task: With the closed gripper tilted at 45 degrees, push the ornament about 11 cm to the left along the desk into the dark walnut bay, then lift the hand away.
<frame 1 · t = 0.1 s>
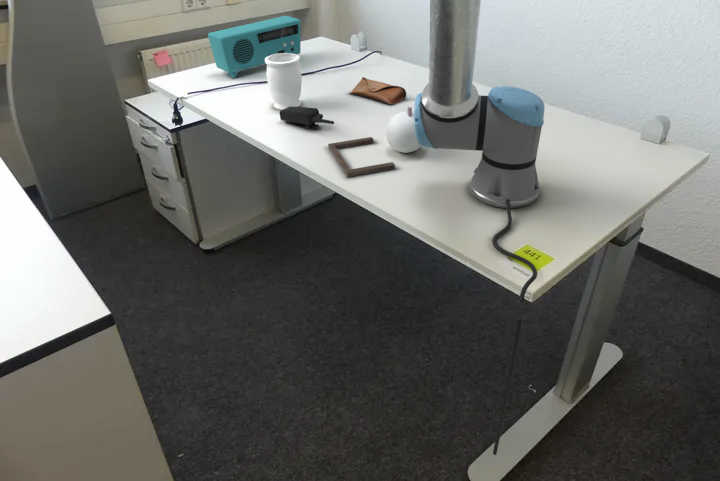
walkie-talkie: (310, 127, 158), on the table
radio: (261, 68, 204), on the table
bay: (362, 157, 141), on the table
sunglasses case: (376, 96, 177), on the table
ornament: (405, 150, 144), on the table
jar: (287, 106, 172), on the table
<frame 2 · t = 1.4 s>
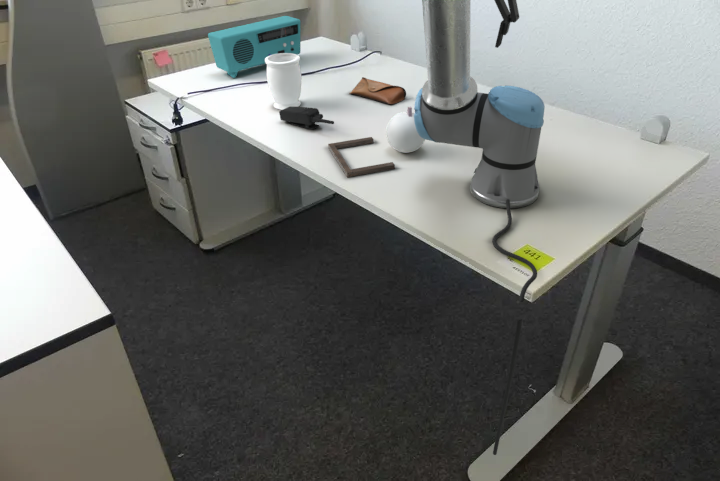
hand: (473, 39, 145), 23 cm above the table, tool pointing down, fingers open, 13 cm apart
nothing on the table moved.
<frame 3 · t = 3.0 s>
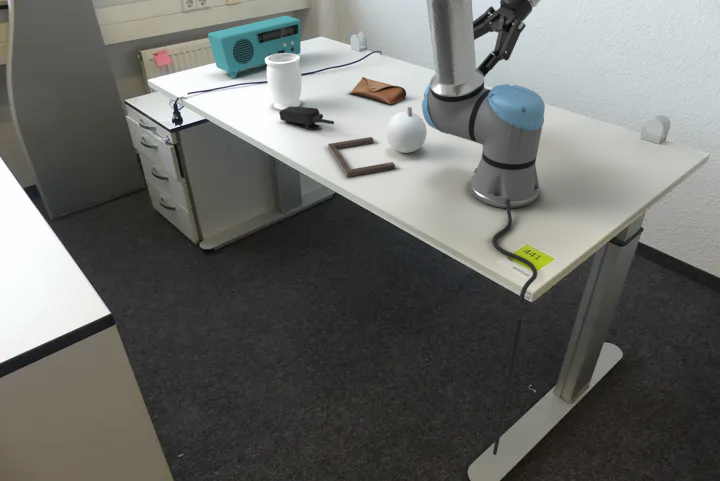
hand: (462, 70, 137), 19 cm above the table, tool tilted 45°, fingers open, 13 cm apart
nothing on the table moved.
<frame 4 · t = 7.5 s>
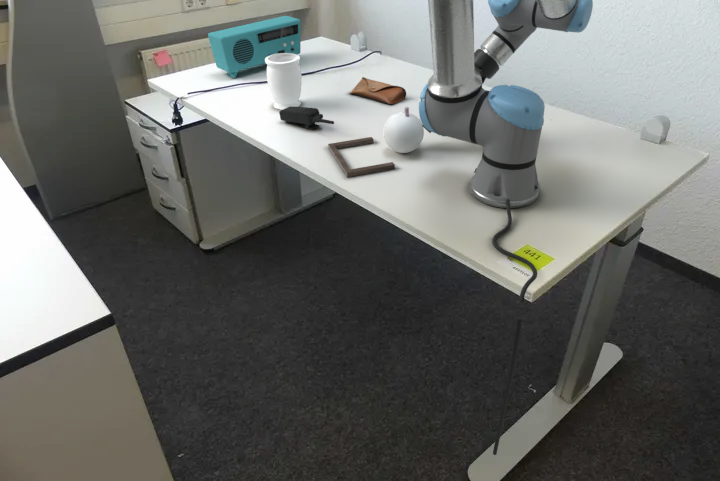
hand: (425, 129, 143), 5 cm above the table, tool tilted 45°, fingers closed
ornament: (403, 151, 144), on the table, touching gripper
everything else where it was.
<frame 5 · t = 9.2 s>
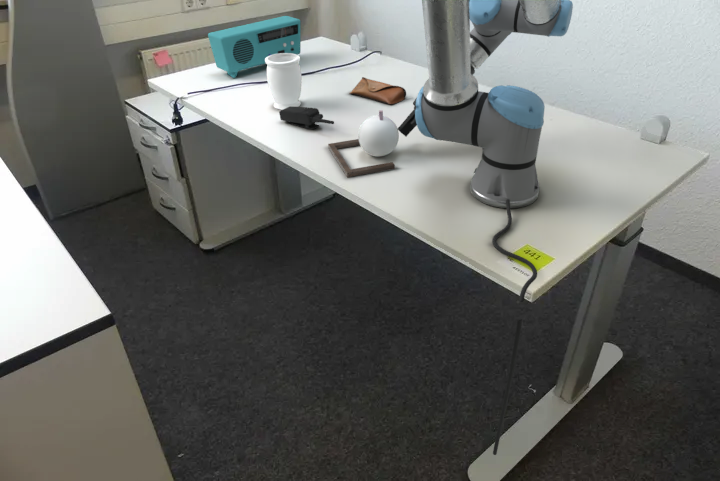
hand: (401, 132, 141), 5 cm above the table, tool tilted 45°, fingers closed
ornament: (378, 154, 143), on the table, touching gripper
everything else where it was.
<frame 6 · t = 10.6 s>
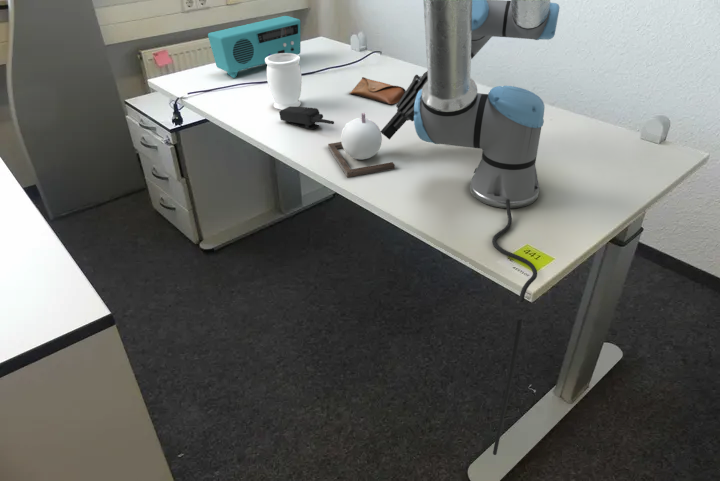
hand: (385, 135, 140), 5 cm above the table, tool tilted 45°, fingers closed
ornament: (361, 157, 142), on the table, touching gripper
everything else where it was.
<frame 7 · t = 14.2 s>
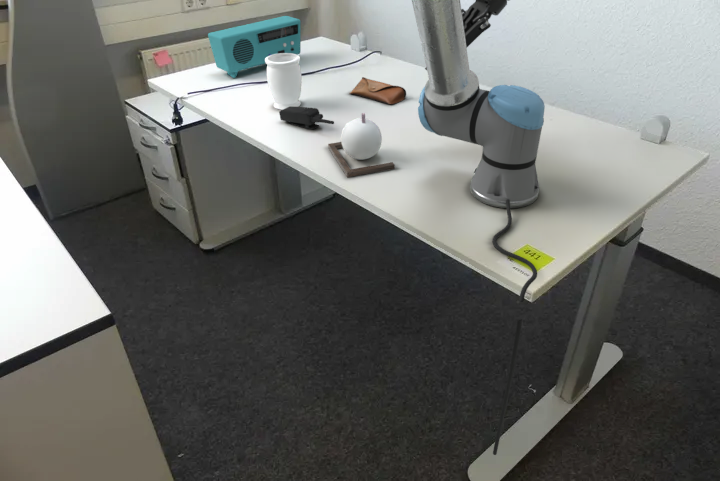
hand: (429, 72, 134), 20 cm above the table, tool tilted 45°, fingers closed
ornament: (361, 157, 142), on the table
everything else where it was.
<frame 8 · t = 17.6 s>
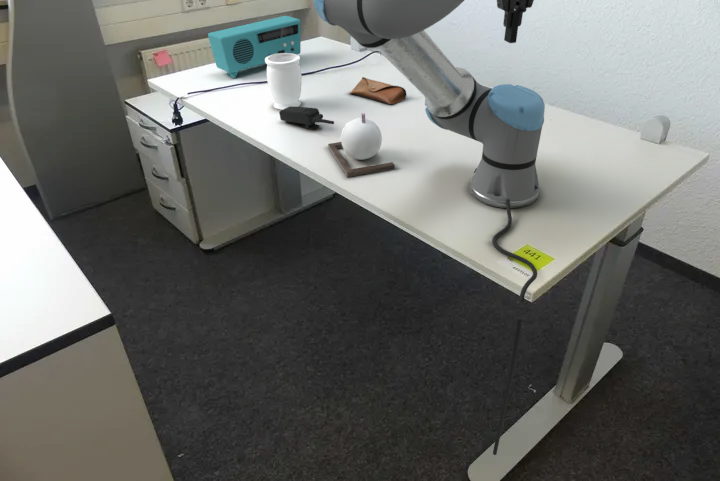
hand: (510, 41, 125), 28 cm above the table, tool pointing down, fingers closed
nothing on the table moved.
at the end: ornament inside the target area (0.4 cm from its centre), on the table; ornament tilted 0°; ornament moved 12.2 cm from its start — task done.
